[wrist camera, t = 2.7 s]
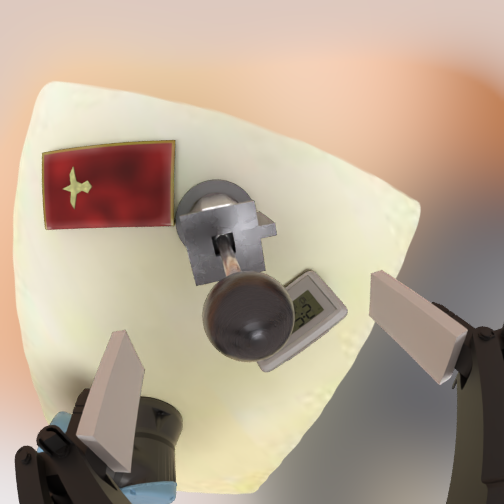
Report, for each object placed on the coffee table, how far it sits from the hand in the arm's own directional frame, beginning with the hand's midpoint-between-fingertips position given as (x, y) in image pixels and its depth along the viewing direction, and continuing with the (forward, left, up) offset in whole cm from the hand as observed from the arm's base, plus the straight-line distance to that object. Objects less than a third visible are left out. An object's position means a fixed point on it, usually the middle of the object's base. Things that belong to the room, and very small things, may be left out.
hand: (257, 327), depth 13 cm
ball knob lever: (0, 0, -18) cm, 18 cm away
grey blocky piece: (0, 0, -28) cm, 28 cm away
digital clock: (+8, -17, -30) cm, 35 cm away
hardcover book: (-15, +9, -30) cm, 35 cm away
